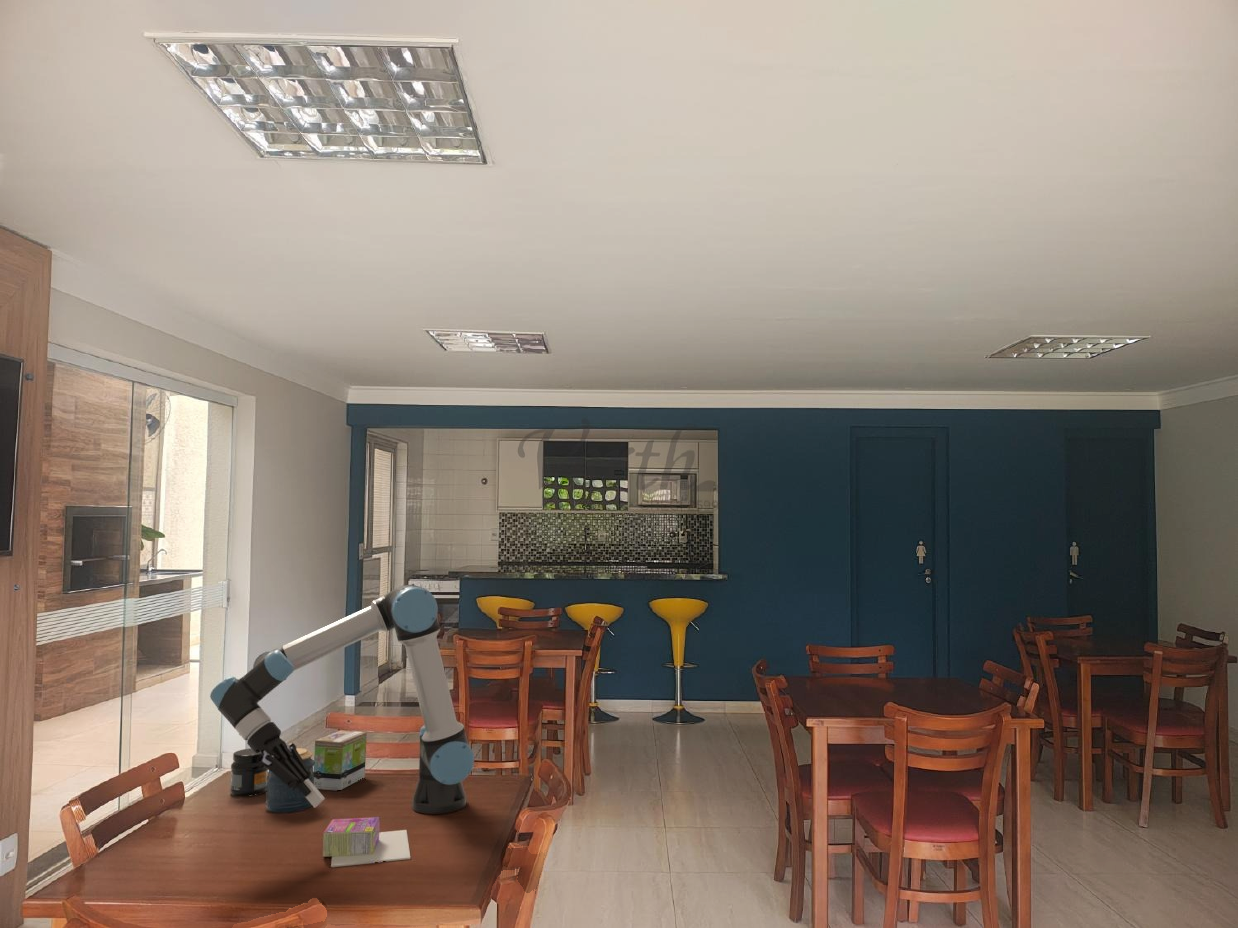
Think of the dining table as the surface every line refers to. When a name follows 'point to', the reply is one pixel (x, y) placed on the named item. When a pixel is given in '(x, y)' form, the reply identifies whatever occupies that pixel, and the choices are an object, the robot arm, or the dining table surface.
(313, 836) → the dining table surface
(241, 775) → the supplement container
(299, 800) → the canister
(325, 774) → the tea box
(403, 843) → the mat
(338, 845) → the box
